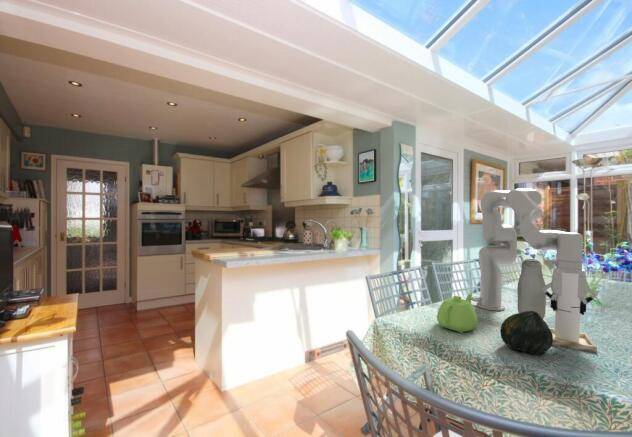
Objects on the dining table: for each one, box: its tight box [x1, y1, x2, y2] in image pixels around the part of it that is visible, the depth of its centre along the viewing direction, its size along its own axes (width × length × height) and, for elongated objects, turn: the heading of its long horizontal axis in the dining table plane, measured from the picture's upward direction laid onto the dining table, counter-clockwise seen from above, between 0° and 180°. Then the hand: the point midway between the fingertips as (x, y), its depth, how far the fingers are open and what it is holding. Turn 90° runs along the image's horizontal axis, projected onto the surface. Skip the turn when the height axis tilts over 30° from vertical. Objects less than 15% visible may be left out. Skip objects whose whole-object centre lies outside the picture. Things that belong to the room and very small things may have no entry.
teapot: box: [436, 293, 479, 333], centre depth 130 cm, size 22×15×13 cm
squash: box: [499, 311, 553, 355], centre depth 108 cm, size 14×15×15 cm
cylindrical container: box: [554, 272, 581, 342], centre depth 116 cm, size 7×7×25 cm
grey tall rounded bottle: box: [516, 258, 547, 320], centre depth 137 cm, size 10×10×28 cm
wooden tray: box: [549, 327, 598, 354], centre depth 116 cm, size 14×14×2 cm
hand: (567, 311), depth 116 cm, fingers open, 7 cm apart
